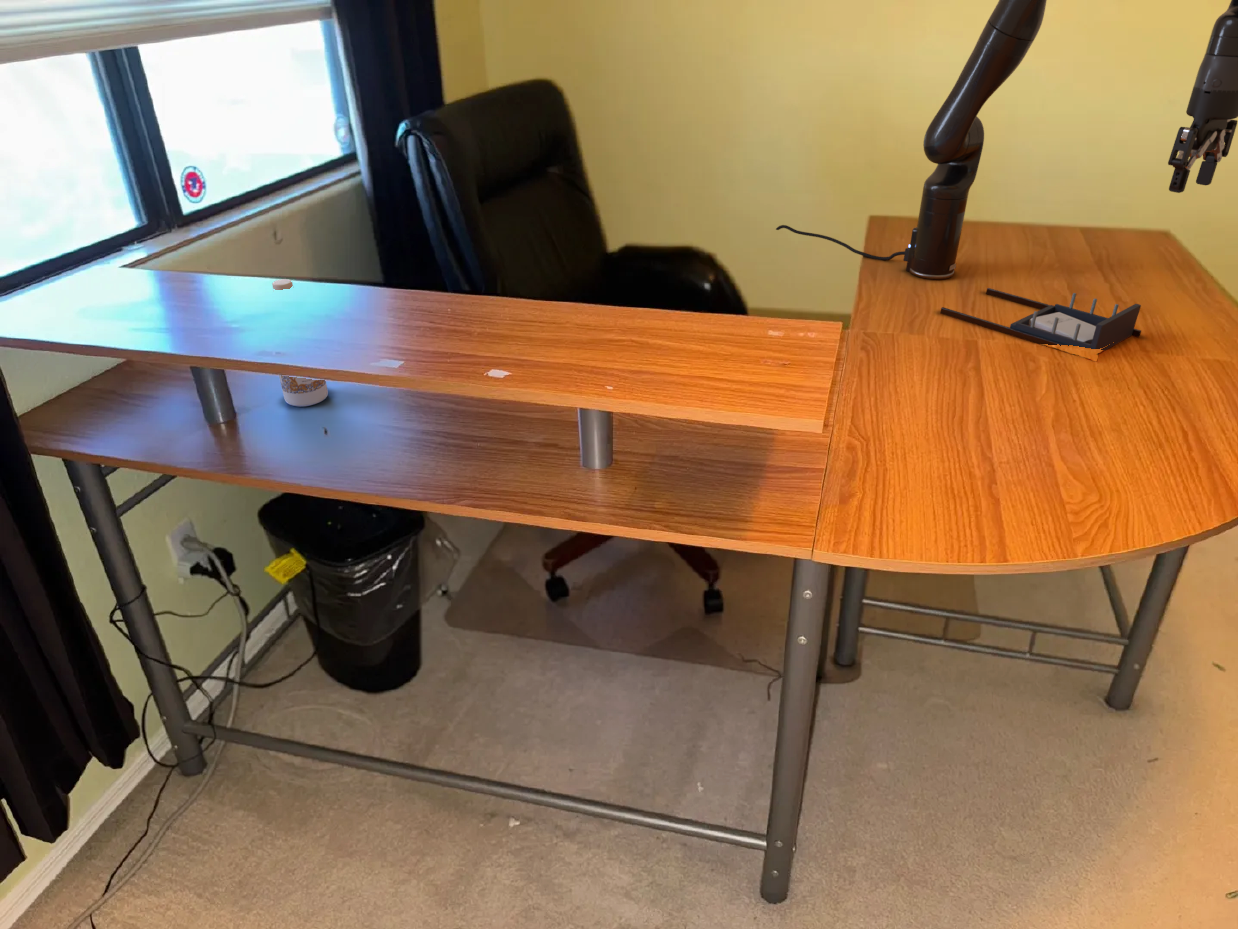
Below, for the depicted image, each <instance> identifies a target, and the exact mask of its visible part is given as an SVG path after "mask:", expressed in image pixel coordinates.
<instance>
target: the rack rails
mask: <svg viewBox="0 0 1238 929" xmlns="http://www.w3.org/2000/svg"><path fill="white" fill-rule="evenodd" d="M985 294H986V295H989V296H992V297H996V298H999V299H1003V300H1005V301H1009V302H1013V303H1016V304H1020V305H1023V306H1027V307H1031V308H1034V309H1036V310H1037V309H1038V310H1041V309H1044V308H1046V307H1048V306H1050V305H1051V304H1047V303H1044V302H1040V301H1037V300H1033V299H1031V298H1027V297H1023V296H1019V295H1016V294H1012V293H1008V292H1005V291H1002V290H998V289H995V288H990V287H987V288H986V293H985ZM939 312H940V314H941V315H944V316H947V317H951V318H954V319H957V320H961V321H962V322H967V323H970V324H973V325H976V326H979V327H982V328H986V329H989V330H992V331H996V332H999V333H1002V334H1006V335H1009V336H1012V337H1015V338H1018V339H1021V340H1025V341H1028V342H1031V343H1034V344H1036V345H1037V344H1038V345H1040V344H1048V345H1057V344H1059V345H1060V346H1061V345H1065V344H1062V343H1058V342H1055V341H1052V340H1049V339H1045V338H1042V337H1039V336H1036V335H1032V334H1029V333H1026V332H1022V331H1019V330H1016V329H1013V328H1010V326H1006V325H1002V324H999V323H996V322H992V321H990V320H987V319H983V318H979V317H976V316H973V315H970V314H966V313H964V312H960V311H957V310H954V309H951V308H947V307H944V306H943V307H941V308H940V311H939ZM1141 333H1142V329H1137V328H1134V330H1133V333H1132V336H1133V337H1136V338H1140V337H1141ZM1132 336H1131V337H1132Z"/></svg>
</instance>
